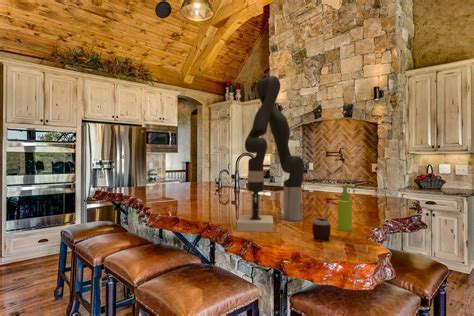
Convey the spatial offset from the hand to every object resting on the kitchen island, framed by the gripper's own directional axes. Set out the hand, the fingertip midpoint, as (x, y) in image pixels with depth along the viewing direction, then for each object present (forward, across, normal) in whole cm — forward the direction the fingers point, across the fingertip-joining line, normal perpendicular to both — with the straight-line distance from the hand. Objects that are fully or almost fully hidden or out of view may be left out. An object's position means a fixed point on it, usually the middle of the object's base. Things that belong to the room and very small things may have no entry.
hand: (255, 217), depth 137 cm
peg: (+2, 0, 0) cm, 2 cm away
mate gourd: (+5, -17, -27) cm, 32 cm away
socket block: (+5, 0, 0) cm, 5 cm away
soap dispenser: (+5, 0, -41) cm, 41 cm away
